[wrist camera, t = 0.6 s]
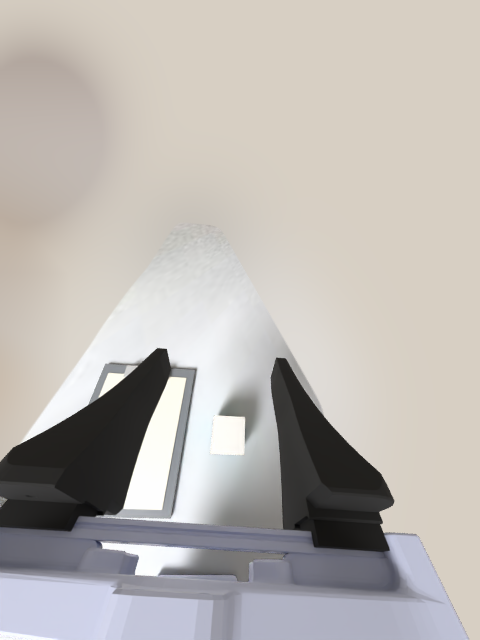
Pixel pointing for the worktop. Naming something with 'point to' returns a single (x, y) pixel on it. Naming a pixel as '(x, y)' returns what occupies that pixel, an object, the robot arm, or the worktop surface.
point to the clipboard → (155, 444)
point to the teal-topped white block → (228, 435)
